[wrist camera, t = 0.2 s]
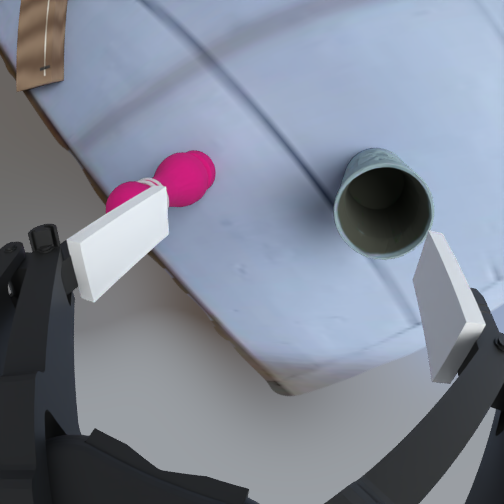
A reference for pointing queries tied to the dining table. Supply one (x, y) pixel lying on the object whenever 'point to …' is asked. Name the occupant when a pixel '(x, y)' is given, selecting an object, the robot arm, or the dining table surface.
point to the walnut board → (40, 43)
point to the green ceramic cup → (382, 206)
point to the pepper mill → (172, 181)
